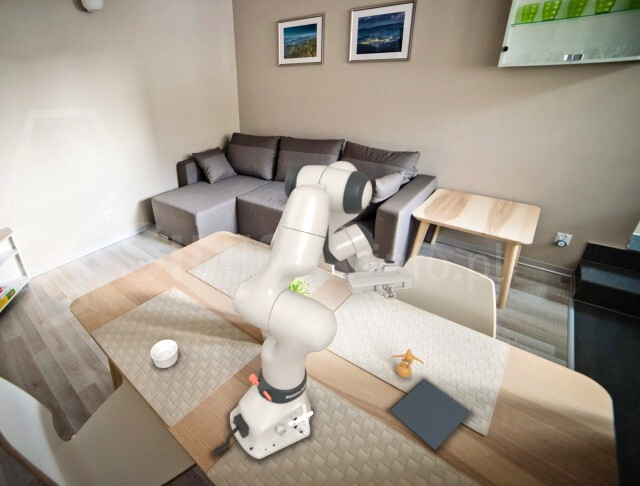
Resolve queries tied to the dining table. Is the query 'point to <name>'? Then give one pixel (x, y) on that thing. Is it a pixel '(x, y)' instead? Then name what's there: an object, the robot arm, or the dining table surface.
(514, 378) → the dining table surface
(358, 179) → the robot arm
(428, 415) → the felt mat
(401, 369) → the figurine
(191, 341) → the dining table surface
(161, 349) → the ramekin
